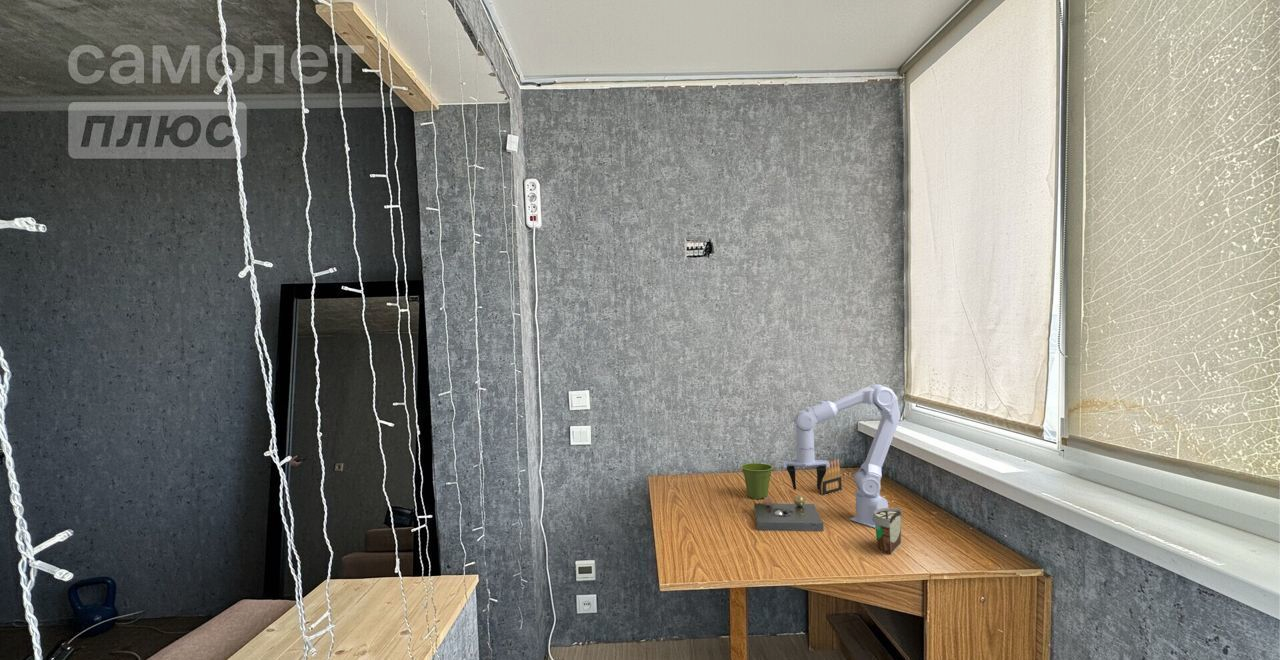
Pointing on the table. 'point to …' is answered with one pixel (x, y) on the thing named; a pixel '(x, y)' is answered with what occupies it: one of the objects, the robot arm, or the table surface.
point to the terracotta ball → (767, 501)
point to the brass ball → (799, 500)
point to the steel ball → (779, 512)
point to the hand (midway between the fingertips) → (806, 489)
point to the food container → (888, 529)
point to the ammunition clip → (831, 479)
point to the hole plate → (788, 517)
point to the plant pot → (757, 479)
